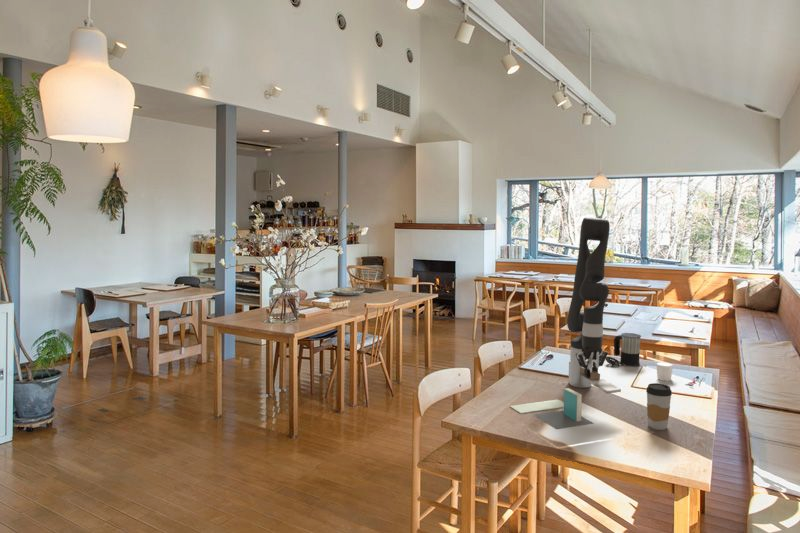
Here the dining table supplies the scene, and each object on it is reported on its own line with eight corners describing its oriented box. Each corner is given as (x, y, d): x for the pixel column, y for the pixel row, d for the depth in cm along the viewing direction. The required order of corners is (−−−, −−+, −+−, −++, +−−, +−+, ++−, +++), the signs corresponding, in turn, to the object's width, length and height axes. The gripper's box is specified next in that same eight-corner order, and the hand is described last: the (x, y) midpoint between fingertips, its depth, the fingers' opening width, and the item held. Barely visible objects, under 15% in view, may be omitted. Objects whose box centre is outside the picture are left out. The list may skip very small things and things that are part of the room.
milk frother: (642, 363, 288) (643, 334, 286) (631, 370, 276) (632, 340, 274) (614, 358, 297) (615, 330, 296) (602, 365, 285) (603, 336, 284)
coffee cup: (673, 426, 207) (675, 386, 205) (665, 433, 201) (667, 391, 199) (649, 420, 213) (651, 381, 211) (641, 427, 207) (642, 386, 205)
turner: (575, 374, 228) (576, 366, 227) (588, 372, 230) (589, 365, 229) (607, 393, 210) (607, 385, 210) (620, 391, 212) (621, 383, 212)
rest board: (510, 408, 227) (510, 405, 227) (557, 401, 234) (557, 399, 234) (520, 415, 219) (520, 412, 219) (569, 408, 226) (569, 405, 226)
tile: (563, 414, 218) (563, 388, 217) (567, 413, 219) (568, 388, 218) (576, 421, 211) (576, 395, 210) (580, 420, 212) (581, 394, 210)
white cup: (675, 381, 259) (675, 366, 259) (659, 381, 259) (660, 366, 259) (668, 376, 266) (668, 361, 265) (653, 376, 266) (653, 361, 266)
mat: (533, 416, 218) (533, 414, 218) (569, 410, 223) (569, 409, 223) (556, 430, 204) (556, 429, 204) (594, 424, 209) (594, 423, 209)
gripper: (601, 330, 227) (599, 372, 230) (571, 333, 223) (569, 376, 225) (614, 334, 220) (612, 378, 222) (583, 337, 216) (581, 382, 218)
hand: (590, 377), depth 224 cm, fingers closed on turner, 2 cm apart
